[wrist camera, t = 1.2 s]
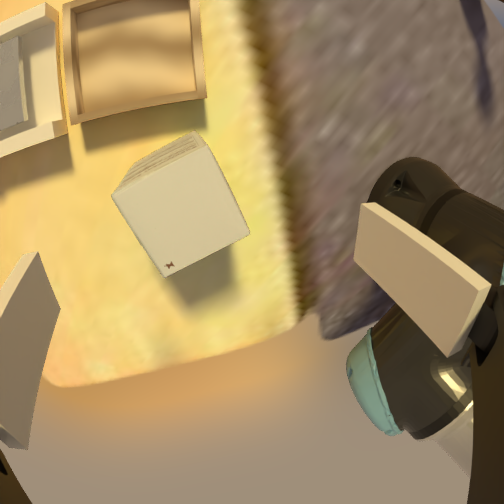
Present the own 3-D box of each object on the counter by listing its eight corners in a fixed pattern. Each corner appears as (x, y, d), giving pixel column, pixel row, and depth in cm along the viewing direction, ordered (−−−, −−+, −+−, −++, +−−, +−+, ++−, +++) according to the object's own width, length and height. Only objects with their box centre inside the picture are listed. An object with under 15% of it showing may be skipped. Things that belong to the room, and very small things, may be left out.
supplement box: (225, 188, 33) (254, 237, 22) (164, 219, 33) (162, 283, 22) (196, 127, 29) (210, 142, 18) (131, 161, 29) (107, 197, 18)
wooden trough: (203, 98, 28) (206, 97, 25) (80, 122, 25) (71, 125, 23) (194, -13, 22) (197, -24, 19) (72, 12, 19) (62, 4, 17)
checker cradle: (68, 133, 26) (51, 139, 21) (-17, 164, 23) (-38, 174, 19) (58, 11, 19) (42, 0, 15) (-28, 52, 17) (-50, 50, 12)
